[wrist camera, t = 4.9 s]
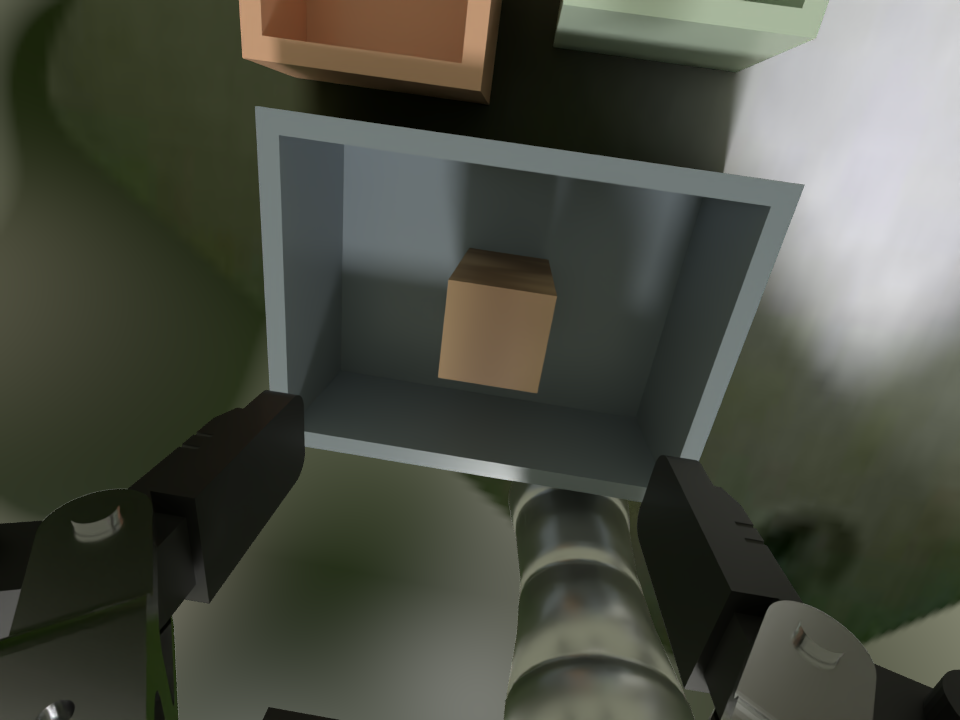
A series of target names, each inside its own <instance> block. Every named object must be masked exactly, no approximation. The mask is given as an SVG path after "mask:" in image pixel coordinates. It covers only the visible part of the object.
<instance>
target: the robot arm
mask: <svg viewBox="0 0 960 720" xmlns="http://www.w3.org/2000/svg"><path fill="white" fill-rule="evenodd" d="M304 456H305V435H304V402H303V399H302V397H301V396H300V395H295V394H289V393H282V392H276V391H270V390H265V391H263V392H262V393H261V394H260V395H259V396H258V397H256V398H255V399H254V400H253V401H252V402H250V403H249V404H248V405H247V406H246V407H245V408H244V409H242V408H235V409H233V410H231V411H229V412H226V413H224V414H222V415H219V416H217V417H215V418H213V419H212V420H211V421H209V422H208V423H207V424H206V425H205V426H203V427H202V428H201V429H200V430H199V431H197V434H196V435H193V436H191V437H190V438H189V439H188V440H186V441H185V442H184V443H183V445H182V447H178V448H177V449H175V450H174V451H173V452H172V453H171V454H169V455H168V456H167V457H166V458H165V459H163V460H162V461H161V462H160V463H158V464H157V465H156V466H155V467H154V468H152V469H151V470H150V471H149V472H148V473H147V474H145V475H144V476H143V477H141V478H140V479H139V480H138V481H137V482H135V483H134V484H133V485H132V486H131V487H129V488H128V489H109V490H103V491H98V492H95V493H90V494H87V495H84V496H81V497H79V498H77V499H74V500H72V501H70V502H68V503H66V504H64V505H62V506H61V507H59V508H58V509H56V510H54V511H53V512H52V513H51V514H49V515H48V516H47V517H46V518H45V519H44V520H43V521H32V522H17V523H5V524H4V523H3V524H0V720H179V716H178V697H177V696H178V695H177V677H176V676H177V675H176V657H175V636H174V622H173V617H172V615H173V613H174V612H175V611H176V610H177V608H178V607H179V606H180V604H181V603H182V602H183V600H184V599H186V600H191V601H197V602H203V603H208V604H209V603H210V602H211V600H212V599H213V598H214V596H215V595H216V593H217V592H218V591H219V589H220V588H221V586H222V585H223V583H224V582H225V581H226V579H227V578H228V577H229V575H230V574H231V572H232V571H233V570H234V568H235V567H236V565H237V564H238V562H239V561H240V560H241V558H242V557H243V556H244V554H245V553H246V551H247V550H248V549H249V547H250V546H251V544H252V543H253V542H254V540H255V539H256V537H257V536H258V534H259V533H260V532H261V530H262V529H263V528H264V526H265V525H266V523H267V522H268V520H269V519H270V518H271V516H272V515H273V513H274V512H275V511H276V509H277V508H278V507H279V505H280V504H281V502H282V501H283V499H284V498H285V497H286V495H287V494H288V492H289V491H290V490H291V488H292V487H293V485H294V484H295V483H296V481H297V480H298V477H299V476H300V473H301V470H302V467H303V463H304ZM637 532H638V538H639V542H640V545H641V549H642V552H643V555H644V558H645V562H646V565H647V568H648V572H649V575H650V578H651V581H652V585H653V588H654V591H655V595H656V598H657V601H658V604H659V608H660V611H661V614H662V618H663V621H664V624H665V627H666V631H667V634H668V637H669V641H670V644H671V647H672V650H673V654H674V657H675V660H676V663H677V667H678V670H679V673H680V677H681V680H682V683H683V686H684V689H689V690H694V691H700V692H706V693H710V695H711V698H712V700H713V703H714V706H715V708H714V710H713V712H712V713H711V715H710V717H709V719H708V720H960V670H952V671H949V672H947V673H946V674H945V675H944V676H943V677H942V678H941V680H940V681H939V682H938V683H937V685H936V686H935V687H934V688H931V687H928V686H926V685H923V684H921V683H919V682H916V681H914V680H912V679H909V678H907V677H904V676H902V675H900V674H897V673H895V672H892V671H890V670H888V669H885V668H883V667H881V666H878V665H876V664H874V663H873V661H872V659H871V657H870V655H869V653H868V652H867V651H866V649H865V647H864V646H863V645H862V644H861V643H860V641H859V640H858V639H857V638H856V637H855V636H854V635H853V634H852V633H851V632H850V631H849V630H848V629H846V628H845V627H844V626H843V625H842V624H840V623H839V622H838V621H836V620H835V619H833V618H832V617H830V616H829V615H827V614H825V613H824V612H822V611H820V610H818V609H816V608H814V607H811V606H809V605H806V604H803V602H802V601H801V599H800V598H799V596H798V594H797V593H796V591H795V590H794V588H793V587H792V585H791V583H790V582H789V580H788V579H787V577H786V575H785V574H784V572H783V571H782V569H781V568H780V566H779V564H778V563H777V561H776V560H775V558H774V557H773V555H772V553H771V552H770V550H769V549H768V547H767V545H764V544H763V542H764V541H763V539H762V538H761V536H760V534H759V533H758V531H757V530H756V529H755V528H753V523H752V522H751V520H750V519H749V517H748V515H747V514H746V512H745V511H744V509H743V508H742V506H741V505H740V504H739V503H738V502H737V501H736V500H734V499H733V498H732V497H731V496H730V495H729V494H728V493H727V492H726V491H724V490H723V489H722V488H721V487H715V486H713V484H712V482H711V481H710V479H709V477H708V475H707V474H706V472H705V470H704V469H703V467H702V465H701V464H700V462H698V461H697V460H692V459H686V458H680V457H673V456H667V455H661V456H659V457H658V459H657V461H656V463H655V465H654V468H653V471H652V474H651V477H650V480H649V483H648V486H647V489H646V492H645V495H644V498H643V500H642V503H641V506H640V509H639V514H638V521H637ZM263 720H337V719H331V718H325V717H320V716H315V715H309V714H303V713H298V712H293V711H287V710H282V709H276V708H270V707H269V708H268V710H267V712H266V714H265V716H264V718H263Z"/></svg>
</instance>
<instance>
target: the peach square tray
mask: <svg viewBox="0 0 960 720" xmlns="http://www.w3.org/2000/svg"><path fill="white" fill-rule="evenodd" d="M501 6H502V0H239V7H240V23H241V40H242V57H243V58H244V59H247V60H250V61H253V62H255V63H258V64H261V65H263V66H266V67H269V68H271V69H274V70H277V71H280V72H282V73H285V74H288V75H290V76H293V77H296V78H302V79H309V80H316V81H323V82H330V83H337V84H344V85H352V86H359V87H366V88H373V89H380V90H387V91H394V92H401V93H408V94H415V95H422V96H429V97H437V98H444V99H451V100H458V101H465V102H472V103H479V104H486V105H489V102H490V94H491V86H492V78H493V70H494V62H495V54H496V46H497V38H498V30H499V22H500V14H501Z"/></svg>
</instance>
